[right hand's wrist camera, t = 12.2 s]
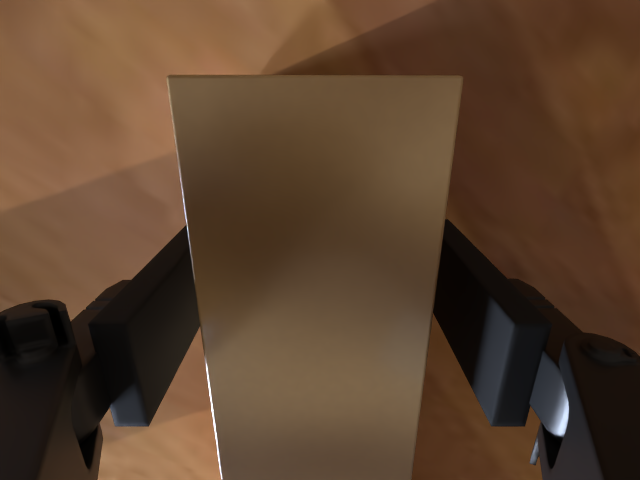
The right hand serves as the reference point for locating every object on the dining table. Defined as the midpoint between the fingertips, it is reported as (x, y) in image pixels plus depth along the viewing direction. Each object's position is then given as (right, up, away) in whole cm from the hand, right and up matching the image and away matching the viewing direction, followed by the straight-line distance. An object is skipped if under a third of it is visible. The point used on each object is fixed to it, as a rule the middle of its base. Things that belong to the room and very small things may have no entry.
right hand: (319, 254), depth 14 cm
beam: (0, -27, +14) cm, 30 cm away
